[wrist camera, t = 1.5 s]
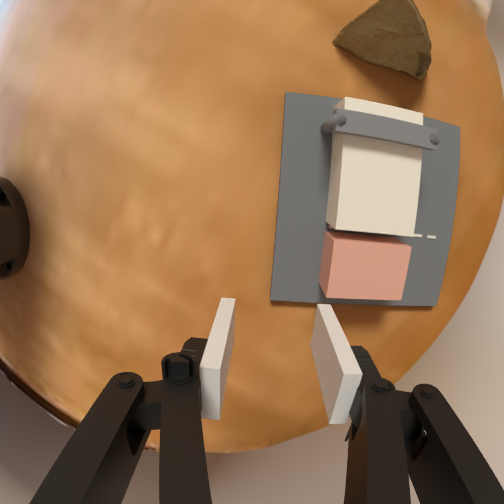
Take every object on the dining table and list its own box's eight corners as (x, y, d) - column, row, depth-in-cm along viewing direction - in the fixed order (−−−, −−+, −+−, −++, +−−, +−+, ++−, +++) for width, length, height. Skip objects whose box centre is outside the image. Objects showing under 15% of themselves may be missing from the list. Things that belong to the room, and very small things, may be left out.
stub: (318, 281, 33) (326, 297, 28) (324, 231, 31) (334, 240, 27) (385, 285, 33) (401, 300, 28) (394, 237, 31) (411, 246, 27)
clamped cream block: (313, 220, 31) (323, 230, 26) (321, 105, 28) (333, 91, 23) (405, 229, 31) (429, 240, 25) (414, 122, 28) (440, 115, 22)
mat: (270, 296, 34) (270, 300, 33) (285, 94, 29) (285, 91, 28) (432, 302, 34) (436, 306, 33) (455, 128, 28) (460, 127, 27)
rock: (452, 61, 24) (401, -8, 21) (467, 72, 19) (402, -17, 16) (383, 98, 32) (333, 35, 29) (380, 118, 27) (317, 39, 24)
